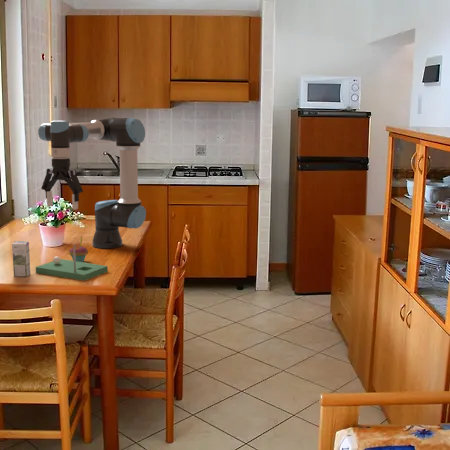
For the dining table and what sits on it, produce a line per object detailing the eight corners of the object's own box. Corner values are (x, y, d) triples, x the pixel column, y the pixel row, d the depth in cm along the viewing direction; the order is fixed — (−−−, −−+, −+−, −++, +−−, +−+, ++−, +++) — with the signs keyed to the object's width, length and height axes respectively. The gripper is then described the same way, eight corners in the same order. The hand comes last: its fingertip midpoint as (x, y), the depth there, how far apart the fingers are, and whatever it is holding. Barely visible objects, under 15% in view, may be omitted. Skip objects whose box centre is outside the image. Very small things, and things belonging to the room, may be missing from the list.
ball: (56, 262, 278) (56, 255, 278) (62, 263, 277) (62, 256, 276) (51, 264, 275) (51, 256, 275) (57, 265, 274) (57, 257, 273)
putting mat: (60, 264, 286) (59, 232, 283) (107, 271, 275) (106, 239, 272) (35, 272, 272) (34, 239, 269) (84, 280, 261) (83, 246, 258)
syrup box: (30, 273, 270) (29, 240, 267) (27, 277, 264) (25, 243, 262) (17, 273, 270) (15, 240, 267) (13, 277, 264) (11, 243, 261)
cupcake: (80, 258, 297) (79, 233, 295) (92, 261, 292) (91, 236, 290) (65, 261, 291) (64, 236, 288) (77, 264, 285) (76, 238, 283)
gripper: (31, 156, 267) (33, 206, 271) (78, 160, 256) (80, 211, 261) (43, 155, 274) (45, 203, 278) (90, 158, 263) (91, 208, 267)
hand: (62, 207), depth 269 cm, fingers open, 13 cm apart
